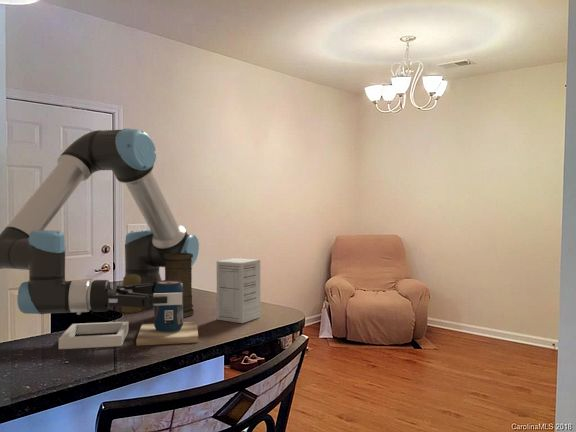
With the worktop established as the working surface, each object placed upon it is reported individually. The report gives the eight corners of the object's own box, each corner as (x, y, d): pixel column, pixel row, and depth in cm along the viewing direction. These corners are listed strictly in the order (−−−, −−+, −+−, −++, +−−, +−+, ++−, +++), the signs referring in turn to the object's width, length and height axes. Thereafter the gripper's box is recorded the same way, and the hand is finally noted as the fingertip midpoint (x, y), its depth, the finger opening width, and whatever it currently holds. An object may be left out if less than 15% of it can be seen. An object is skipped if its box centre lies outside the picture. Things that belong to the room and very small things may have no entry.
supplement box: (261, 317, 138) (262, 259, 137) (242, 324, 130) (243, 262, 129) (235, 313, 143) (235, 257, 142) (215, 319, 135) (215, 260, 134)
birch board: (141, 329, 123) (141, 324, 123) (196, 327, 126) (196, 321, 126) (136, 345, 109) (136, 339, 109) (198, 342, 112) (198, 336, 112)
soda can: (154, 327, 120) (154, 279, 120) (182, 325, 122) (182, 279, 121) (153, 334, 113) (153, 284, 113) (183, 332, 115) (183, 283, 115)
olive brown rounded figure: (134, 313, 142) (134, 276, 141) (117, 311, 144) (117, 275, 143) (146, 309, 147) (146, 273, 147) (130, 307, 149) (130, 272, 149)
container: (186, 318, 135) (186, 255, 135) (157, 317, 137) (157, 255, 137) (198, 312, 144) (198, 252, 144) (171, 310, 146) (171, 252, 145)
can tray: (72, 333, 119) (72, 323, 119) (128, 330, 122) (128, 321, 122) (58, 349, 106) (58, 338, 106) (121, 346, 109) (121, 335, 109)
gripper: (100, 301, 126) (182, 298, 130) (80, 324, 102) (181, 320, 106) (100, 273, 126) (182, 271, 130) (80, 289, 101) (182, 286, 106)
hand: (182, 293), depth 118 cm, fingers open, 13 cm apart
